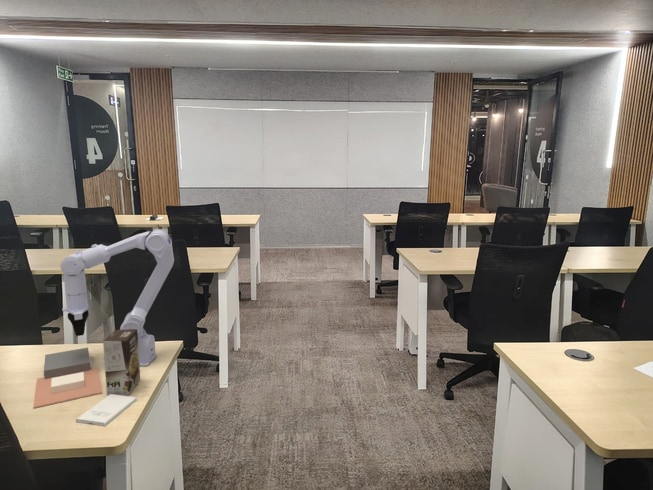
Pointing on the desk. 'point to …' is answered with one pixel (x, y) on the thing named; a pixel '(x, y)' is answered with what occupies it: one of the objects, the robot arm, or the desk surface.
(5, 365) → the desk surface
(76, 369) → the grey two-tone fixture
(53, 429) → the desk surface
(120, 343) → the coffee box
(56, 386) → the tile
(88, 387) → the mat
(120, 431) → the desk surface
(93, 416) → the external hard drive
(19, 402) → the desk surface
